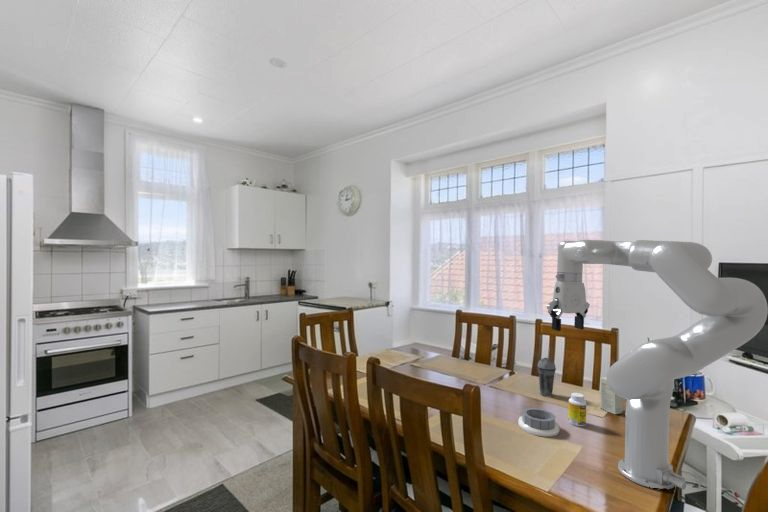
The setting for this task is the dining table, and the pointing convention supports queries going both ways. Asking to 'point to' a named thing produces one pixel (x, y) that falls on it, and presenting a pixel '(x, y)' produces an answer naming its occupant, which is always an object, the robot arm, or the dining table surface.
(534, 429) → the holder
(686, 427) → the dining table surface
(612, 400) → the skincare box
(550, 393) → the beverage cup
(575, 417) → the supplement bottle
